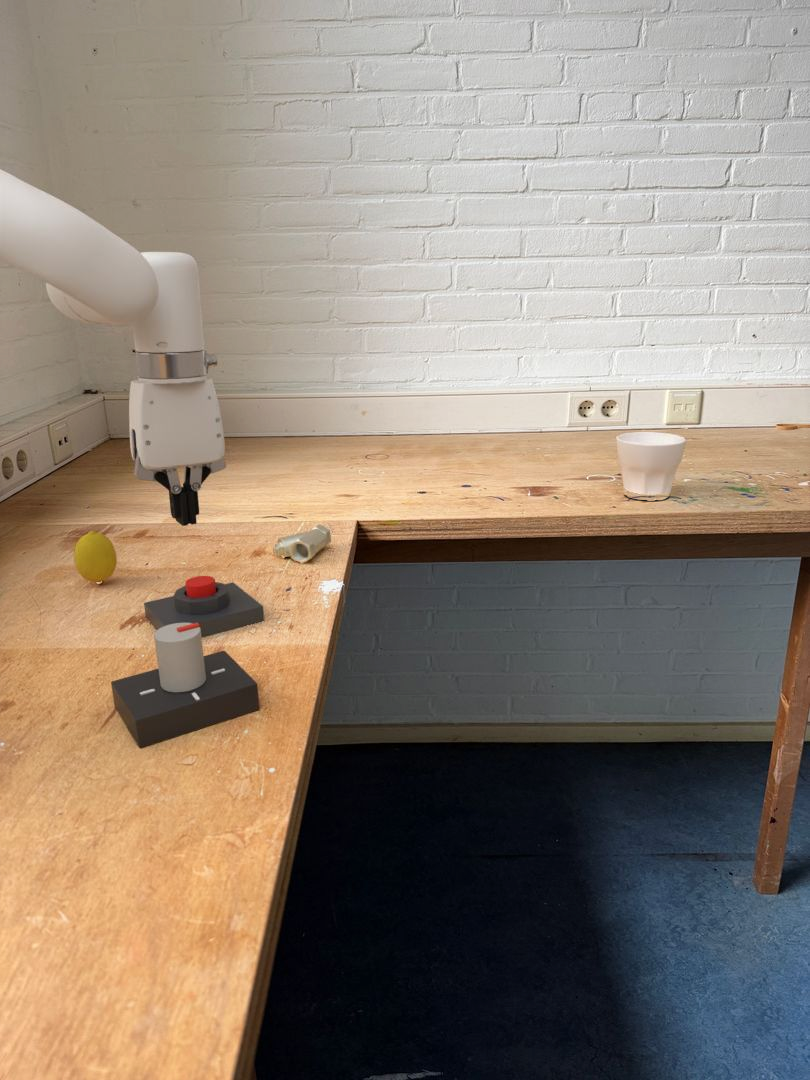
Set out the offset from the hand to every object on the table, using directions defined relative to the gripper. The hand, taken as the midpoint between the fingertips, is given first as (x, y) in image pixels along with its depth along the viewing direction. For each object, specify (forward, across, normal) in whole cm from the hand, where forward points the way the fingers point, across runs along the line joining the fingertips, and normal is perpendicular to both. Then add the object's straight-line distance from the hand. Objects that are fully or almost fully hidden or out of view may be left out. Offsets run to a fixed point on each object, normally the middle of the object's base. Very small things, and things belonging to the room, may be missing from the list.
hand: (185, 522), depth 96 cm
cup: (+11, -90, -6) cm, 91 cm away
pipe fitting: (+13, -22, -15) cm, 30 cm away
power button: (+10, -1, 0) cm, 10 cm away
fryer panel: (+14, +8, +20) cm, 25 cm away
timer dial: (+11, +8, +20) cm, 24 cm away
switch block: (+13, -1, 0) cm, 13 cm away
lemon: (+14, +7, -21) cm, 26 cm away
